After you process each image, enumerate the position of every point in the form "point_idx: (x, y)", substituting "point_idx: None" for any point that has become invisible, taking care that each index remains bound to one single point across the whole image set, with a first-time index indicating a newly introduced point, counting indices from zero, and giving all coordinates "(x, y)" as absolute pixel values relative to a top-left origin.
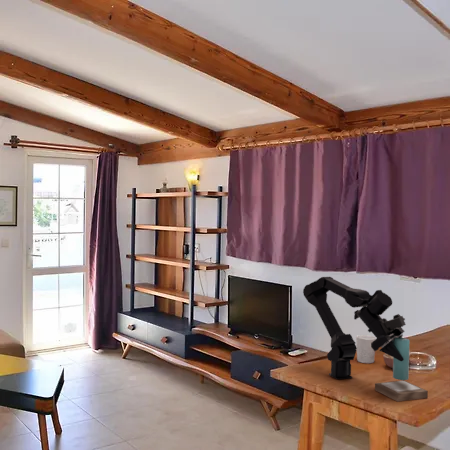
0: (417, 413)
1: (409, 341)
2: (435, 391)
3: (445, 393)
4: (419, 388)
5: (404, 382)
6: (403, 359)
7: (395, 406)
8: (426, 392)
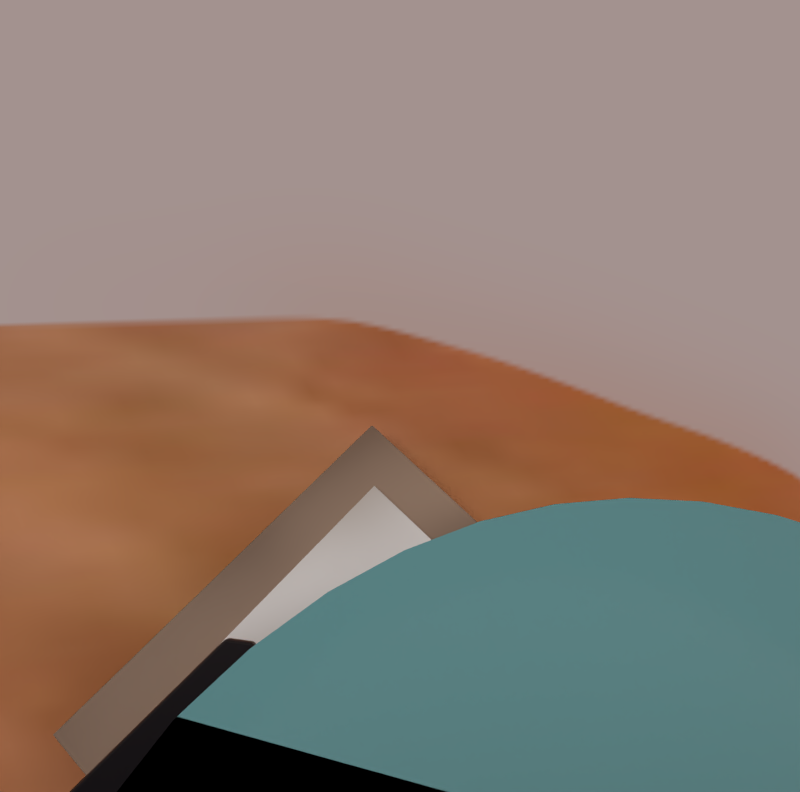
0: (796, 482)
1: (562, 521)
2: (134, 398)
3: (163, 321)
4: (373, 499)
5: None
6: None
7: None
8: (381, 439)
